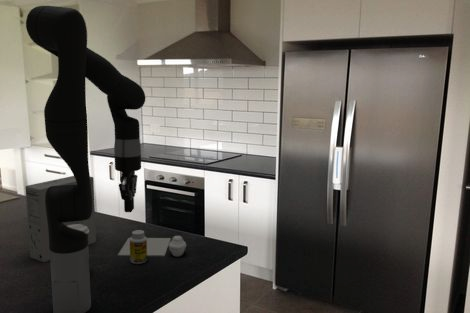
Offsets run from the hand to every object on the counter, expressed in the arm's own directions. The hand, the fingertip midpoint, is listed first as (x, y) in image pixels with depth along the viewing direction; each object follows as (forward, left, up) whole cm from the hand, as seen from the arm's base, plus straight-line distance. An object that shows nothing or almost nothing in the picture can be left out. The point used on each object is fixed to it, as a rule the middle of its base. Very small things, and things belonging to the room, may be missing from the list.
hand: (129, 210), depth 124 cm
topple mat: (+23, 0, -21) cm, 31 cm away
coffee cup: (+1, +17, -21) cm, 27 cm away
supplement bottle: (+11, 0, -21) cm, 24 cm away
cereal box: (+20, +28, -21) cm, 40 cm away
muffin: (+17, -12, -21) cm, 30 cm away
